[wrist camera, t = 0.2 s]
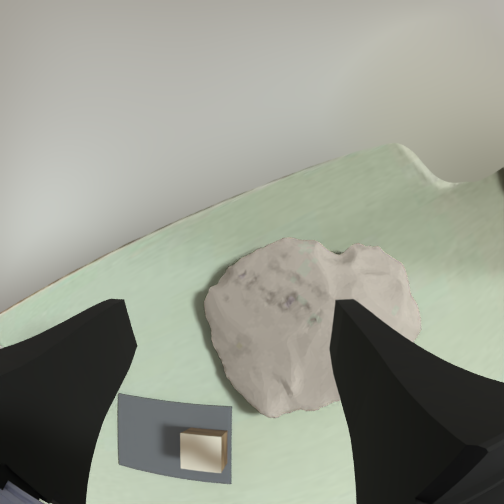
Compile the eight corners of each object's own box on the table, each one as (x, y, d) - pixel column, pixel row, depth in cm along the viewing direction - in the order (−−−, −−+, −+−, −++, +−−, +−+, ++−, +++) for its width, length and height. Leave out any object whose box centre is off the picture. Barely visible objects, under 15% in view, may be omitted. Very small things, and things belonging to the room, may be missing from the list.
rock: (432, 359, 34) (237, 423, 35) (381, 227, 45) (205, 277, 46) (456, 354, 27) (224, 433, 28) (393, 201, 38) (188, 258, 39)
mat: (231, 483, 29) (231, 484, 29) (120, 464, 31) (119, 464, 30) (231, 406, 35) (231, 406, 34) (119, 393, 36) (118, 393, 35)
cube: (227, 462, 31) (221, 473, 26) (191, 459, 31) (180, 468, 27) (227, 430, 33) (221, 437, 28) (191, 427, 33) (180, 432, 29)
